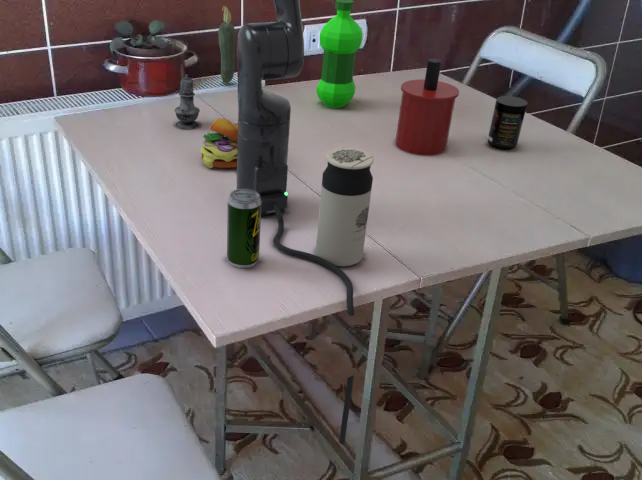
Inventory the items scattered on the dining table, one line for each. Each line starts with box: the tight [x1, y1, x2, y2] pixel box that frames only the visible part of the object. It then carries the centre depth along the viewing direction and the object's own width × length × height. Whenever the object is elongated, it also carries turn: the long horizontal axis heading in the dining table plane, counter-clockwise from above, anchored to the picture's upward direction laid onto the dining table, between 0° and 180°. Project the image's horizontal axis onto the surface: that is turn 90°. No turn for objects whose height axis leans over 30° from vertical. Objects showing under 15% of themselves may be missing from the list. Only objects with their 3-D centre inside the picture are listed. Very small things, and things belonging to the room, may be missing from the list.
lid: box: [400, 58, 460, 101], centre depth 160 cm, size 12×12×7 cm
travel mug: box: [315, 147, 375, 267], centre depth 122 cm, size 8×8×18 cm
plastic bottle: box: [316, 0, 364, 109], centre depth 182 cm, size 10×10×25 cm
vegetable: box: [217, 5, 236, 85], centre depth 193 cm, size 4×4×20 cm
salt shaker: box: [174, 73, 201, 130], centre depth 171 cm, size 6×6×12 cm
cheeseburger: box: [200, 117, 238, 169], centre depth 156 cm, size 10×11×10 cm
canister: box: [395, 92, 457, 156], centre depth 165 cm, size 11×11×12 cm
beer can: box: [226, 188, 262, 269], centre depth 121 cm, size 5×5×12 cm
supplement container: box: [486, 95, 528, 151], centre depth 167 cm, size 7×7×10 cm
